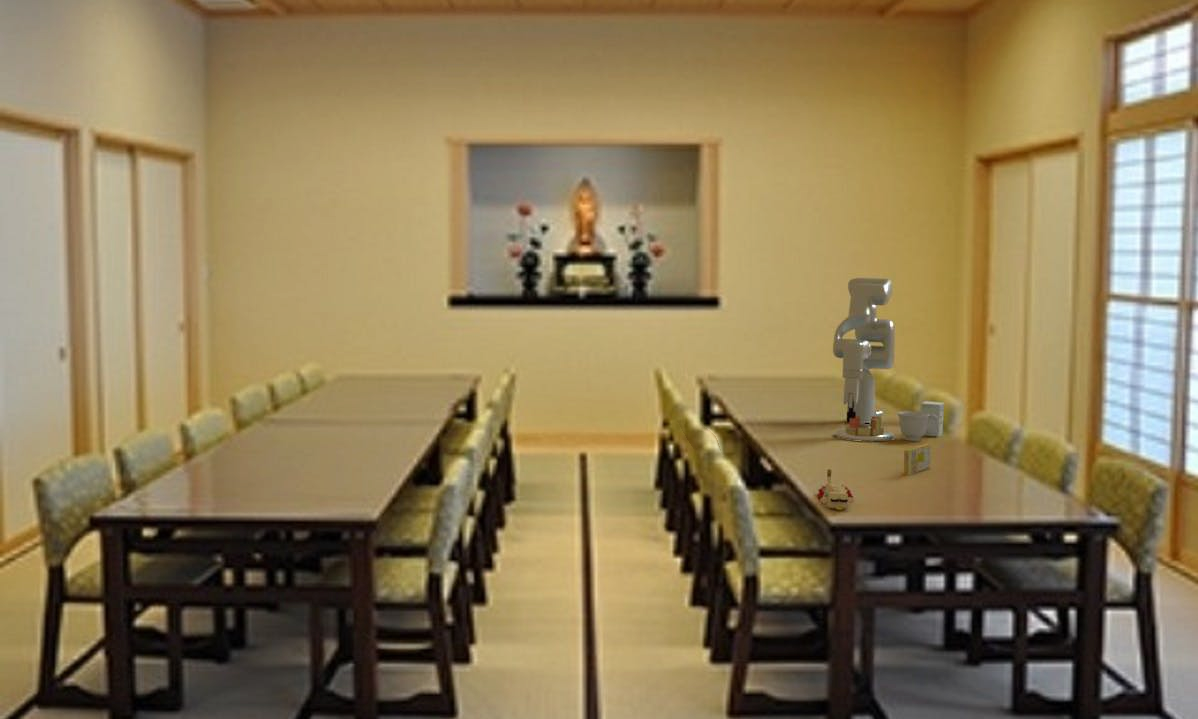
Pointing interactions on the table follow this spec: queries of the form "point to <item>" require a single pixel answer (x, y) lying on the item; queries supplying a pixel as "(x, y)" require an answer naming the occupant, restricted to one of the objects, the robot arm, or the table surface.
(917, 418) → the teacup
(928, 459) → the candy box
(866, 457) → the table surface
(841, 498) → the cat figure
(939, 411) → the supplement box
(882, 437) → the cap plate
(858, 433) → the wooden block ring
